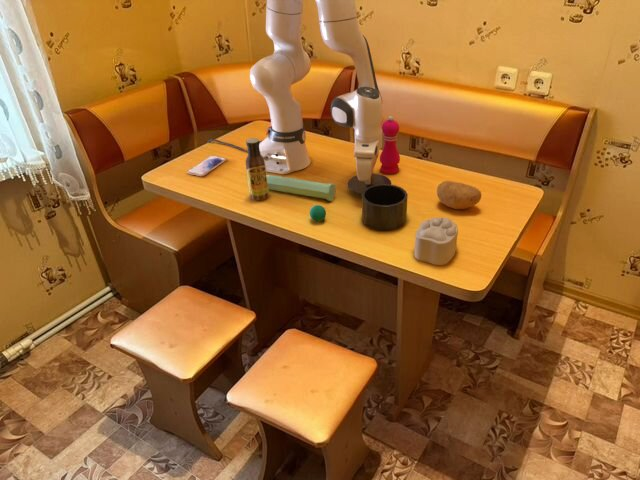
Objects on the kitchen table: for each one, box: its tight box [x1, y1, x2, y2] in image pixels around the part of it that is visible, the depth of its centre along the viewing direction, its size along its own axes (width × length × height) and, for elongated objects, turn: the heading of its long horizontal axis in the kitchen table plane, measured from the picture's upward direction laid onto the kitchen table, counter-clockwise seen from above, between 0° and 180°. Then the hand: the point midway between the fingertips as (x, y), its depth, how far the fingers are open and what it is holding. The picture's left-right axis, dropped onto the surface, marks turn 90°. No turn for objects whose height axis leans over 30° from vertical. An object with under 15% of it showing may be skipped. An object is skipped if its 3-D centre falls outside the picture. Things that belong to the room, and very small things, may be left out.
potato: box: [436, 180, 482, 210], centre depth 156 cm, size 10×14×8 cm
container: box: [267, 174, 336, 202], centre depth 165 cm, size 6×6×25 cm
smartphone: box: [187, 154, 227, 177], centre depth 183 cm, size 7×1×15 cm
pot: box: [361, 183, 409, 232], centre depth 151 cm, size 14×14×8 cm
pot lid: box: [346, 171, 392, 196], centre depth 165 cm, size 15×15×5 cm
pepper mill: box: [379, 115, 401, 175], centre depth 173 cm, size 7×7×20 cm
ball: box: [309, 204, 327, 223], centre depth 152 cm, size 5×5×5 cm
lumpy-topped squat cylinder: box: [414, 216, 459, 266], centre depth 137 cm, size 10×13×9 cm
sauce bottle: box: [245, 137, 269, 201], centre depth 159 cm, size 6×6×20 cm
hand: (369, 180), depth 165 cm, fingers closed on pot lid, 2 cm apart
